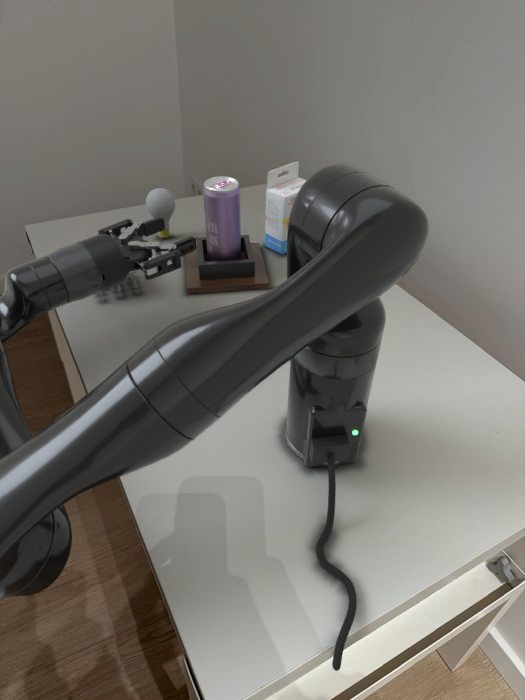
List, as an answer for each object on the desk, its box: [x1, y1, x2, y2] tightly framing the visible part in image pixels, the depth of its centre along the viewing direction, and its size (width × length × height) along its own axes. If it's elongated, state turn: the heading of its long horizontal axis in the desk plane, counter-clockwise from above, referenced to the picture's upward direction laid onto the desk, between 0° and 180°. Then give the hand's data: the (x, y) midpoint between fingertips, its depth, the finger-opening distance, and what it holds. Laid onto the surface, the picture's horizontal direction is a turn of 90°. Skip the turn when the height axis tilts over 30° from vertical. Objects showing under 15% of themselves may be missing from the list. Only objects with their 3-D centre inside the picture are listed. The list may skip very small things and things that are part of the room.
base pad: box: [185, 234, 270, 295], centre depth 92 cm, size 14×14×4 cm
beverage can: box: [202, 175, 242, 262], centre depth 88 cm, size 6×6×15 cm
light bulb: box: [145, 187, 176, 239], centre depth 99 cm, size 6×6×10 cm
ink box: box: [264, 160, 307, 256], centre depth 96 cm, size 8×5×15 cm, turn 134°
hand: (178, 232), depth 82 cm, fingers open, 8 cm apart
